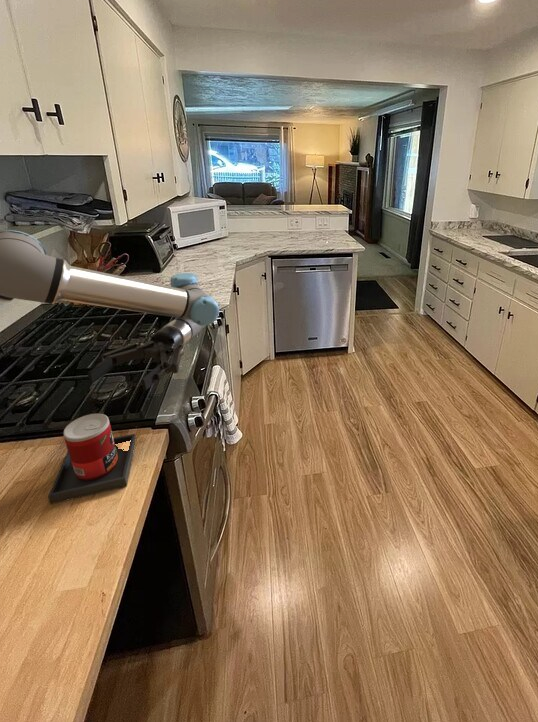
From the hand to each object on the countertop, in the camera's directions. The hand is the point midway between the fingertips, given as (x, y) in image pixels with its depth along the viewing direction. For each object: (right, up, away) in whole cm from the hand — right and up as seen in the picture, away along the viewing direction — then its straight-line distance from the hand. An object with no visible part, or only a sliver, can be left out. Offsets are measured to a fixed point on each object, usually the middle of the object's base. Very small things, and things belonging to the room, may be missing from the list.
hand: (116, 381), depth 80 cm
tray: (-2, -18, -4) cm, 18 cm away
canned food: (-2, -18, -4) cm, 18 cm away
